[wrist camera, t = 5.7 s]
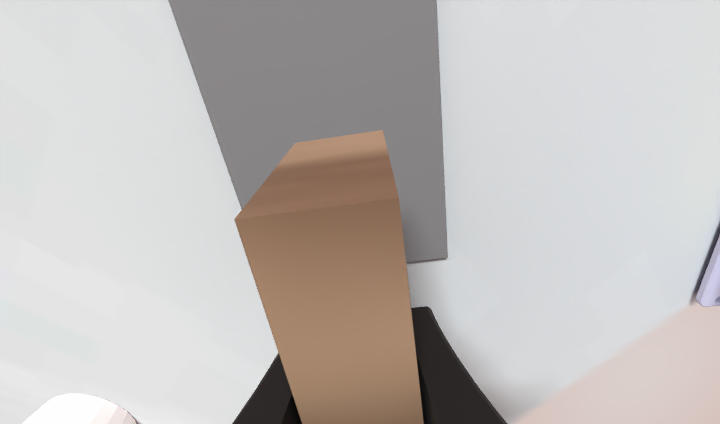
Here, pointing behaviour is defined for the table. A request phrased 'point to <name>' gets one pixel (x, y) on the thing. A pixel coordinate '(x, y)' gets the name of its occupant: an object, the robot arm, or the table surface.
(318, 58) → the mat
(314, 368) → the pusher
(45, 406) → the cup
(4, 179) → the table surface
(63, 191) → the table surface
